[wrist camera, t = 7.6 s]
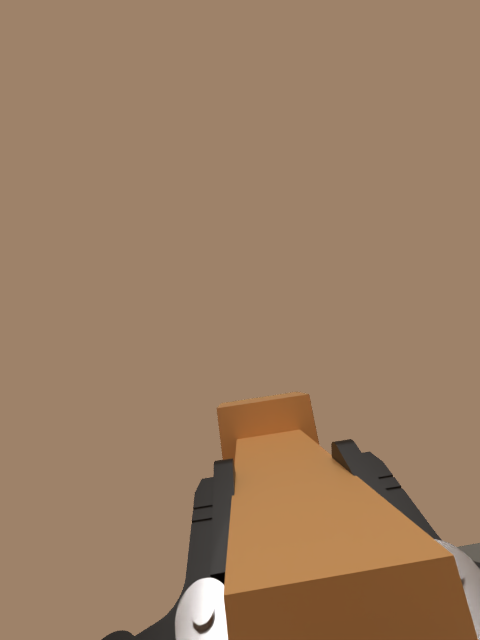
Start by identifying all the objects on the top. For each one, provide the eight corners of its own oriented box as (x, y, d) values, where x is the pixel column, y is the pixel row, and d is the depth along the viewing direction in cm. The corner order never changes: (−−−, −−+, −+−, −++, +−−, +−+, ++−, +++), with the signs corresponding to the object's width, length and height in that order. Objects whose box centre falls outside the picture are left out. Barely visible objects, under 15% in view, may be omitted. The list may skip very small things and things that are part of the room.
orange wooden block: (180, 868, 4) (155, 473, 5) (230, 472, 19) (221, 403, 20) (589, 786, 4) (468, 423, 5) (309, 460, 19) (296, 391, 20)
